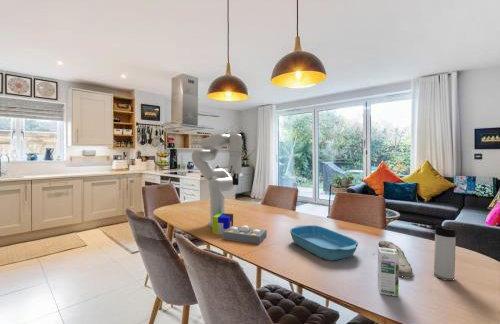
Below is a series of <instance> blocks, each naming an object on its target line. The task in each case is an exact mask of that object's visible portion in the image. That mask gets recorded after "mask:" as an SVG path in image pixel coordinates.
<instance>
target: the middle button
mask: <svg viewBox="0 0 500 324" xmlns="http://www.w3.org/2000/svg"><path fill="white" fill-rule="evenodd" d="M240 227H241V232H246V233H248V232H249V228H250V227H249V225H241V226H240Z"/></svg>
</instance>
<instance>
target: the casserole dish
mask: <svg viewBox="0 0 500 324" xmlns="http://www.w3.org/2000/svg"><path fill="white" fill-rule="evenodd" d="M289 233H290V235H291V239H292V241H293V242H294V243H295V244H297V245H298V246H299V247H301V248H303V249H304V250H306V251H308V252H310V253H311V254H313V253H314V255H315V256H318V257H319V258H321V257H322V258H321V259H323V258H324V260H326V259H327V261H331V260H333V261H338V259H339V260H342V259H346V258H349V257H351V256H353V255H354V253H355V252H356V250H357V249H358V245H359V242H358V241H357V240H355V239H354V238H352V237H350V236H347V235H344V234H342V233H339V232H337V231H334V230H332V229H330V228H327V227H324V226H319V225H313V224H312V225H311V224H310V225H307V224H305V225H303V224H302V225H296V226H294V227H292V228H290V229H289Z"/></svg>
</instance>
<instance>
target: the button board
mask: <svg viewBox="0 0 500 324" xmlns="http://www.w3.org/2000/svg"><path fill="white" fill-rule="evenodd" d="M231 227H237V228H238V230H237V231H230V227H229V228H228V229H226V230H225V231H223V234H222V240H229V241H235V242H243V243H249V244H250V243H251V244H258V245H260V244H262V243H263V241H264V240H265V239H266V238H267V237H268V236H267V232H268V230H267V229H261V228H258V229H259V230H260V234H254V233H253V230H254V229H255V228H254V227H253V228H252V227H249V232H248V233H246V232H241V226H235V225H233V226H231Z"/></svg>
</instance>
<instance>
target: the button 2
mask: <svg viewBox="0 0 500 324" xmlns="http://www.w3.org/2000/svg"><path fill="white" fill-rule="evenodd" d="M259 229H260V228H254V230H253V233H254V234H260V230H259Z"/></svg>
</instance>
